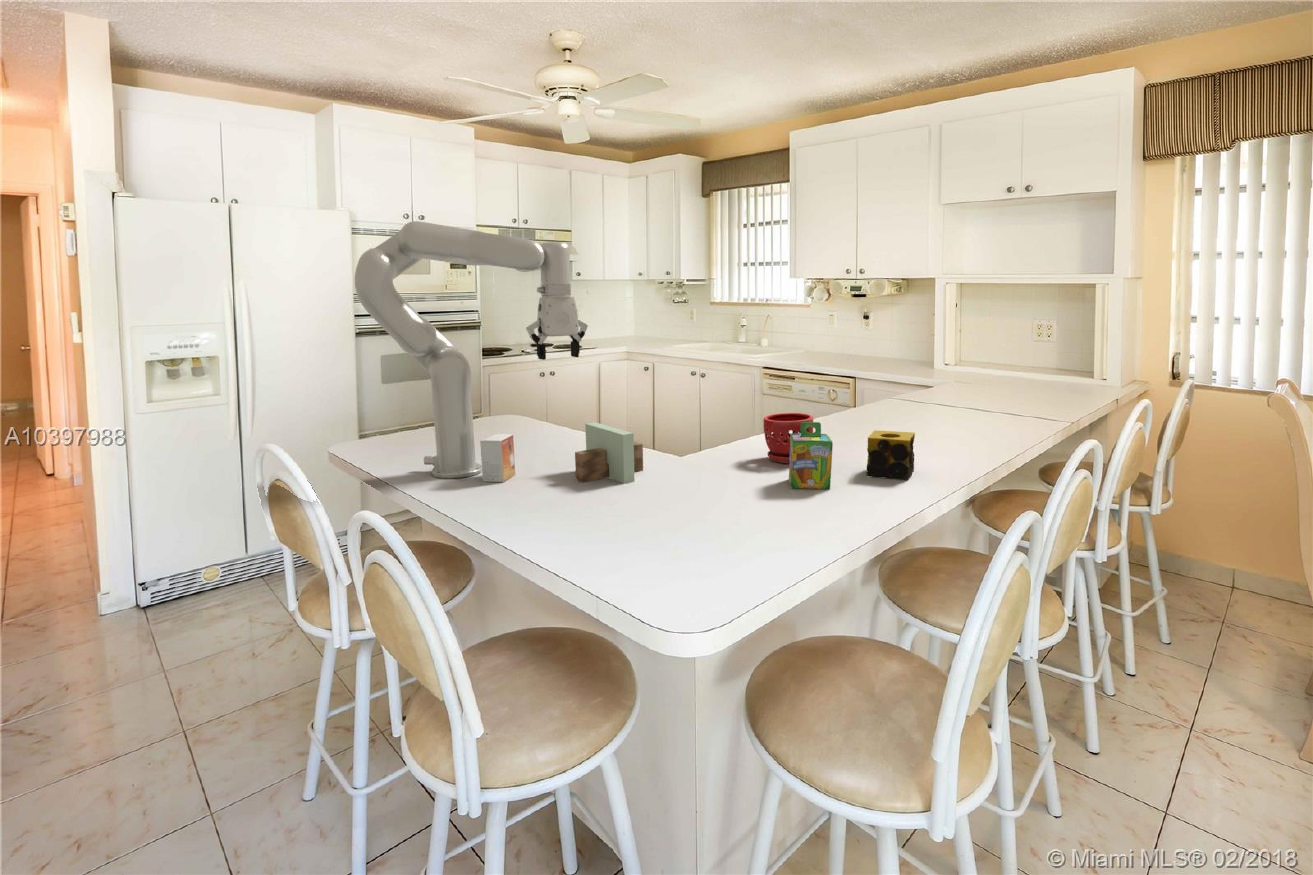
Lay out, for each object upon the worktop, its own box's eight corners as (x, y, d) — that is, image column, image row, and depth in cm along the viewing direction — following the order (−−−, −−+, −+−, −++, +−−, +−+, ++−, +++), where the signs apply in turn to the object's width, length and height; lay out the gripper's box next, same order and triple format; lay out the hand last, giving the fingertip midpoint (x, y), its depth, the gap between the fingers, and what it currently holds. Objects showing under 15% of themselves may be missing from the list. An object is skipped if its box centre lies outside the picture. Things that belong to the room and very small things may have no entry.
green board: (586, 469, 192) (585, 423, 190) (596, 467, 194) (595, 422, 192) (624, 483, 178) (622, 434, 175) (634, 481, 180) (633, 433, 177)
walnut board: (582, 482, 180) (581, 454, 178) (575, 479, 182) (574, 452, 181) (643, 470, 190) (642, 443, 188) (636, 468, 192) (636, 442, 191)
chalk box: (791, 489, 171) (792, 426, 168) (788, 479, 180) (789, 419, 177) (831, 490, 170) (834, 427, 167) (826, 479, 179) (828, 419, 176)
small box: (503, 483, 180) (501, 440, 178) (482, 482, 181) (479, 440, 179) (516, 474, 188) (513, 434, 186) (495, 473, 189) (493, 433, 187)
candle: (914, 471, 185) (916, 432, 183) (909, 481, 176) (911, 440, 174) (872, 467, 190) (874, 429, 188) (865, 477, 181) (867, 437, 179)
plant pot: (797, 452, 207) (798, 410, 204) (821, 463, 195) (823, 418, 192) (754, 456, 203) (755, 413, 200) (777, 467, 191) (778, 422, 188)
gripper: (531, 292, 183) (534, 361, 186) (592, 291, 192) (594, 356, 196) (519, 292, 189) (522, 359, 192) (578, 291, 198) (580, 354, 202)
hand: (558, 358), depth 194 cm, fingers open, 9 cm apart
